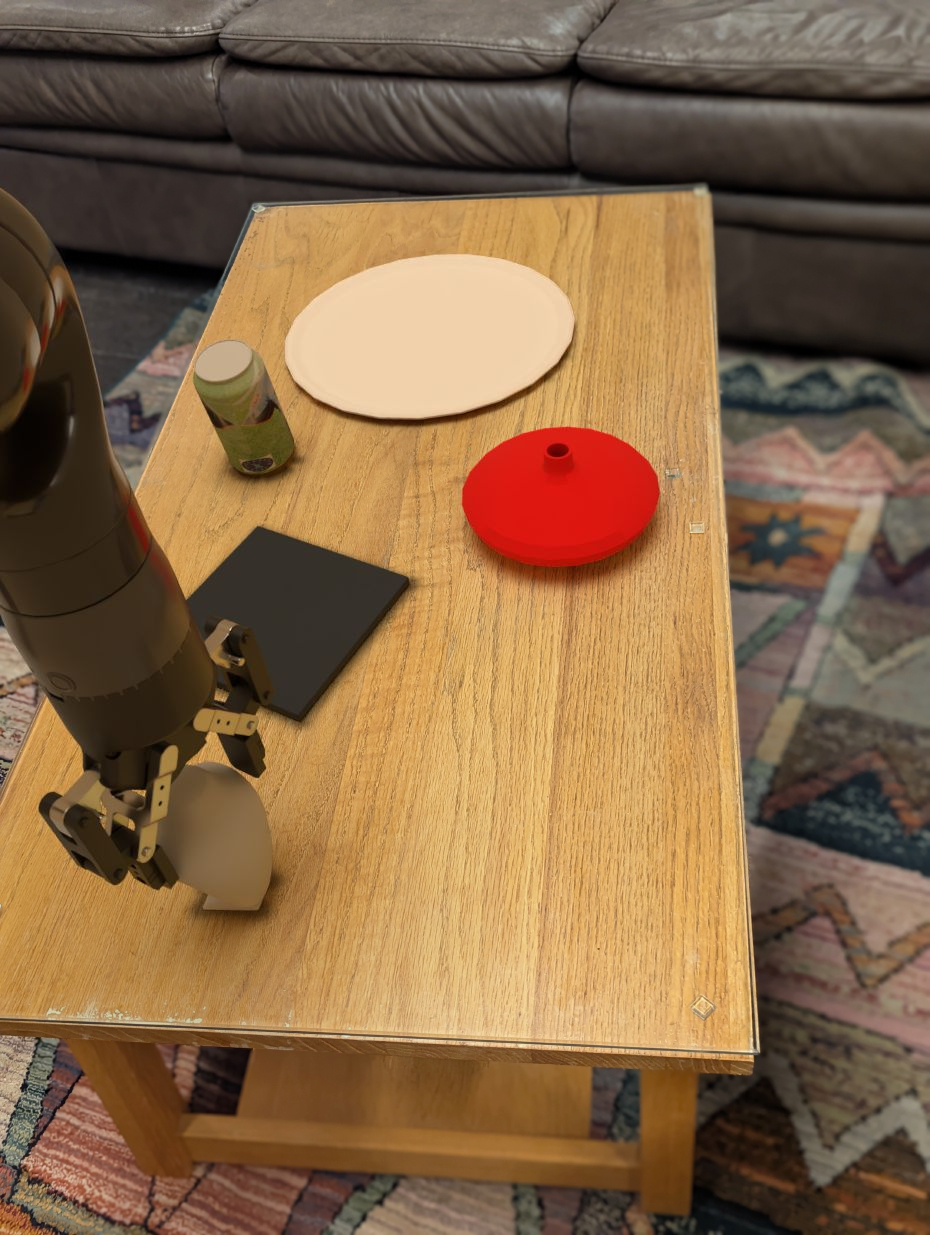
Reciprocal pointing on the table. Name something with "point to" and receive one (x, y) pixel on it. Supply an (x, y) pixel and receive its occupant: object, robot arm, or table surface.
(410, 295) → the plate
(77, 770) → the table surface
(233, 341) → the beverage can
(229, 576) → the mat
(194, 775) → the grey rounded body
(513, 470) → the red disc with nozzle
